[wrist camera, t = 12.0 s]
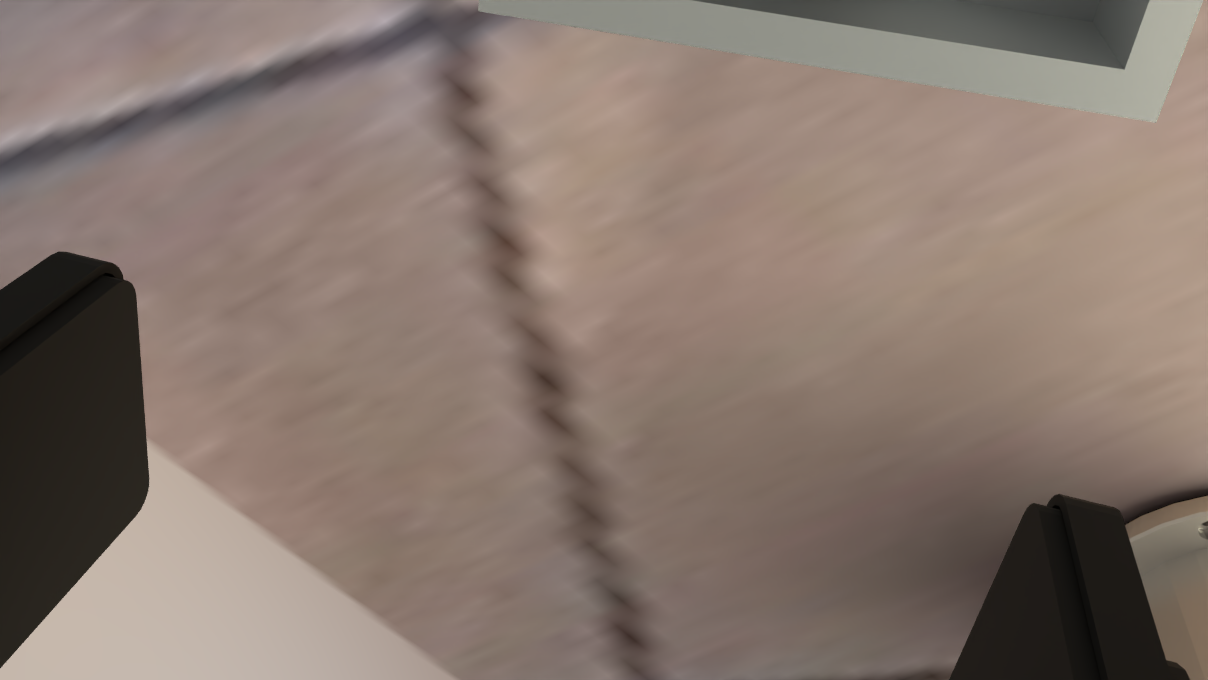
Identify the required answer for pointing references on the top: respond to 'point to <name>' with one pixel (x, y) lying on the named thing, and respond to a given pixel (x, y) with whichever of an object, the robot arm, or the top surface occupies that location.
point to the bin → (926, 41)
